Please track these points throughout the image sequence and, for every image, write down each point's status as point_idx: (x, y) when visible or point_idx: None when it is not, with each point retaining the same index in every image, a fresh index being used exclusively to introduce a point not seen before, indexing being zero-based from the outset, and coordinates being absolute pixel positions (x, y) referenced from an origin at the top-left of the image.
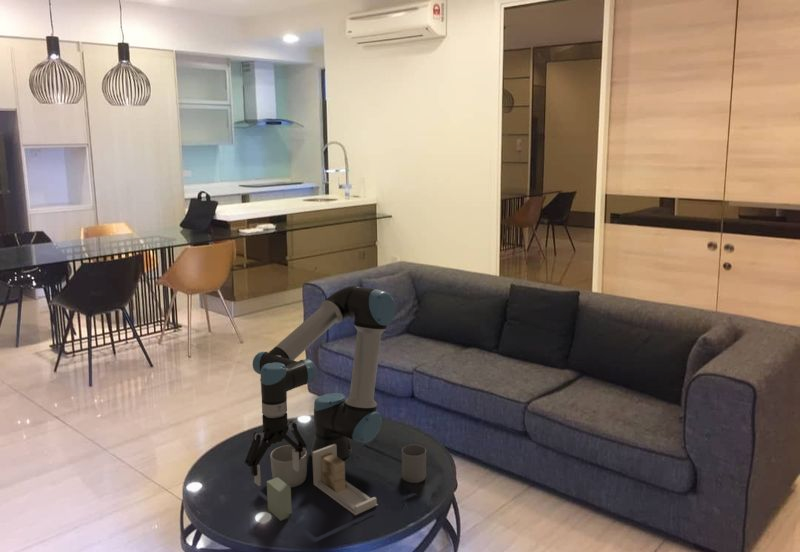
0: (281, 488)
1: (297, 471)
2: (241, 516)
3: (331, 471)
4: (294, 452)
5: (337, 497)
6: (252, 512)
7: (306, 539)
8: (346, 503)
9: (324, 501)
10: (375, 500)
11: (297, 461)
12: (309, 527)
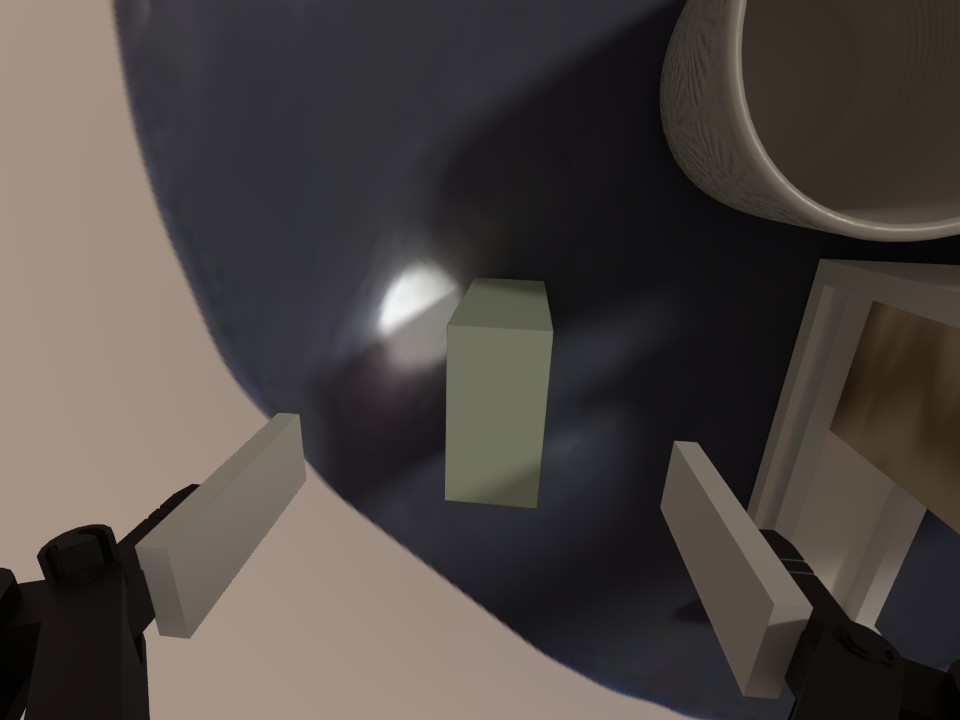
0: (479, 480)
1: (664, 508)
2: (334, 234)
3: (942, 466)
4: (749, 639)
5: (783, 493)
6: (396, 242)
7: (478, 566)
8: None
9: (736, 418)
10: None
11: (702, 588)
12: (536, 521)
